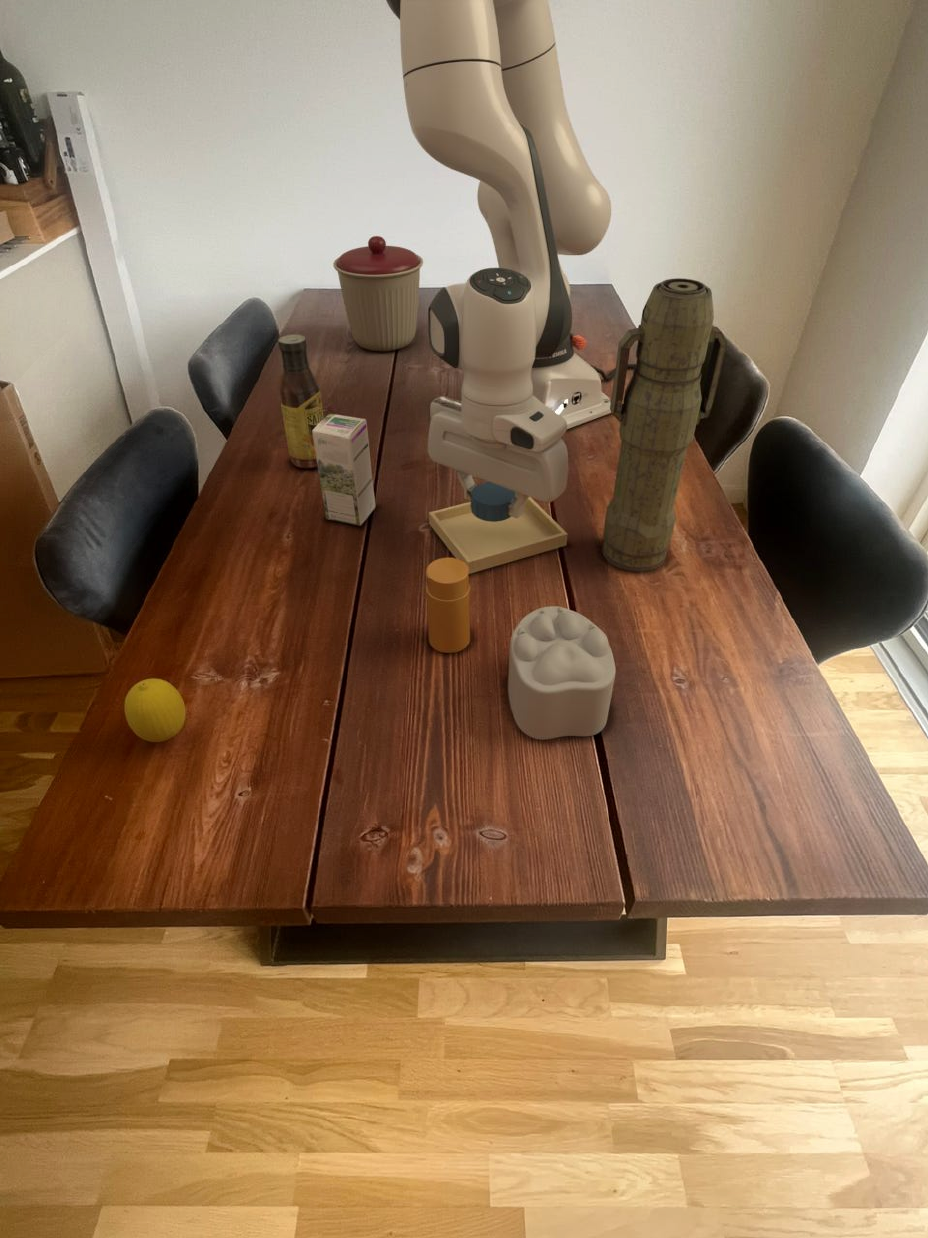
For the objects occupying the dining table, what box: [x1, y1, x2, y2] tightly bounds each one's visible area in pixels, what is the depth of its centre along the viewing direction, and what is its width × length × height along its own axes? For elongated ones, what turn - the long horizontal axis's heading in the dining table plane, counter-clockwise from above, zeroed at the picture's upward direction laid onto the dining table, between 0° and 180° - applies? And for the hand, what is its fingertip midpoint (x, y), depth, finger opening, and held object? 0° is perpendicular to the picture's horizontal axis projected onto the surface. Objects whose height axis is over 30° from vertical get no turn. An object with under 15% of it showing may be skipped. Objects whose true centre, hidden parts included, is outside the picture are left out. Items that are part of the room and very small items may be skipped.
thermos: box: [602, 277, 728, 573], centre depth 89 cm, size 9×12×35 cm
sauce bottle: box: [277, 334, 325, 470], centre depth 114 cm, size 7×6×20 cm
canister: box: [332, 235, 424, 352], centre depth 152 cm, size 18×18×21 cm
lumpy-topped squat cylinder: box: [507, 605, 617, 741], centre depth 78 cm, size 10×13×9 cm
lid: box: [470, 481, 516, 522], centre depth 100 cm, size 6×6×3 cm
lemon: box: [123, 678, 187, 743], centre depth 74 cm, size 6×6×8 cm
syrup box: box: [312, 413, 377, 527], centre depth 103 cm, size 6×6×14 cm
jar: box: [424, 557, 471, 654], centre depth 84 cm, size 5×5×10 cm
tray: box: [428, 497, 568, 575], centre depth 103 cm, size 15×13×2 cm
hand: (493, 506), depth 101 cm, fingers closed on lid, 6 cm apart
